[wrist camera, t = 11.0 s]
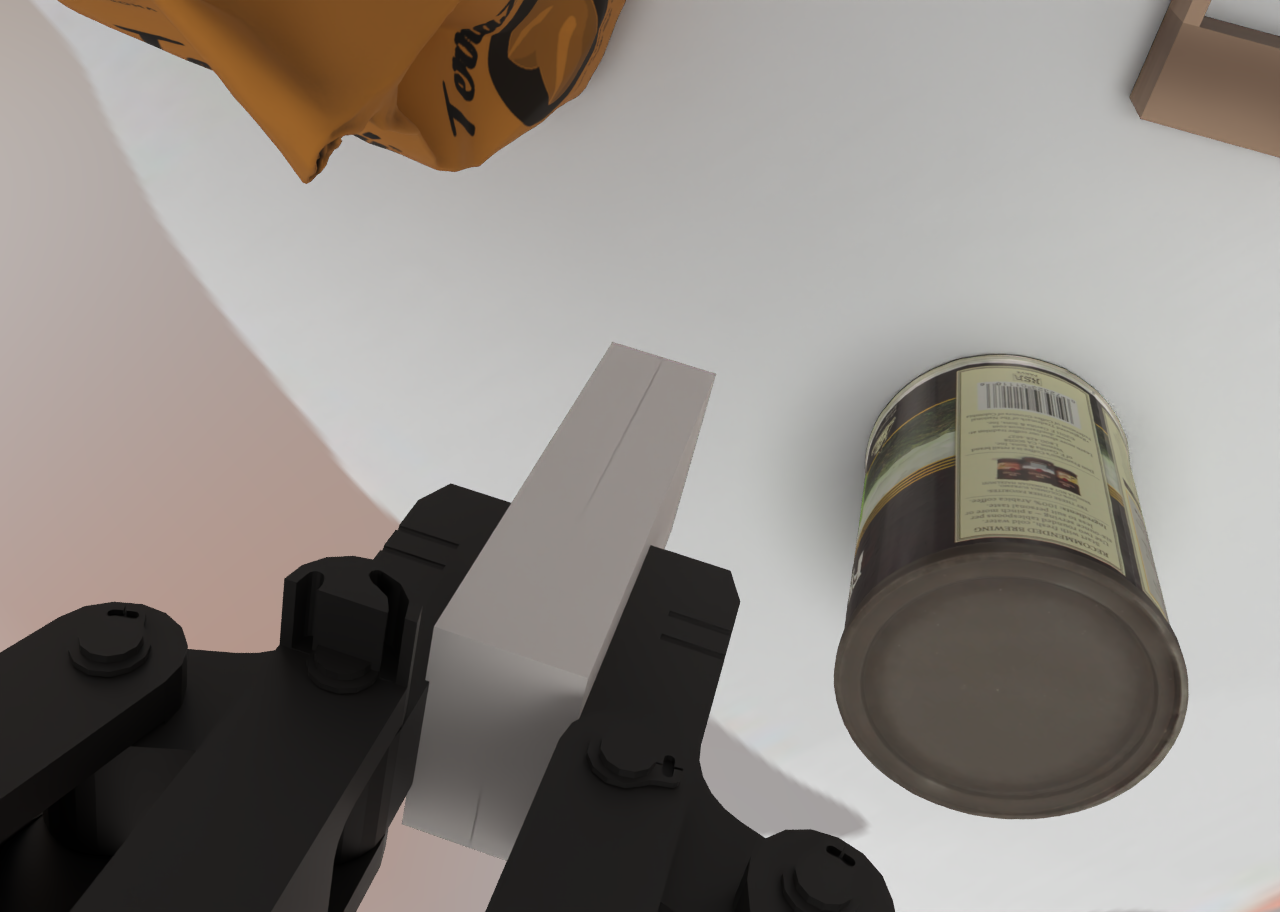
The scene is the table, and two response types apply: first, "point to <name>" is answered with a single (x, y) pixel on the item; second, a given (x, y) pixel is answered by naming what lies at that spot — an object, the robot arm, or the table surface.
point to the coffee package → (382, 67)
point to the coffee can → (1006, 598)
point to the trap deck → (1212, 79)
